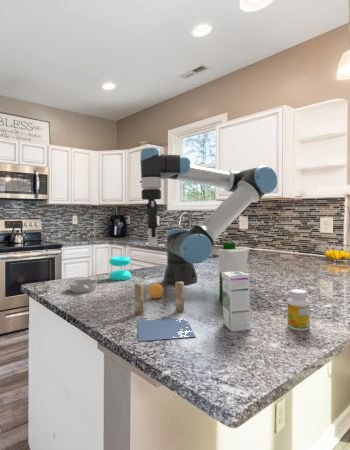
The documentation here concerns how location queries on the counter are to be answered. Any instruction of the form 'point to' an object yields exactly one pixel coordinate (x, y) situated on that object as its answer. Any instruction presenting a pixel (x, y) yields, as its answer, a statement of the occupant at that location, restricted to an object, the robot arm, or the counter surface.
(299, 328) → the supplement bottle
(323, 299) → the counter surface
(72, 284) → the saucepan
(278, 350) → the counter surface
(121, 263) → the donuts
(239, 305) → the syrup box
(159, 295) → the ball
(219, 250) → the milk carton
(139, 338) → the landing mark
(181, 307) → the right post
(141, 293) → the left post
